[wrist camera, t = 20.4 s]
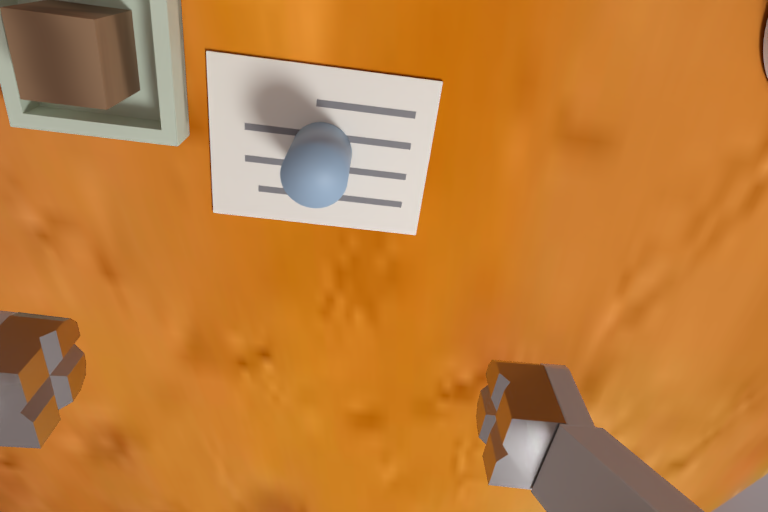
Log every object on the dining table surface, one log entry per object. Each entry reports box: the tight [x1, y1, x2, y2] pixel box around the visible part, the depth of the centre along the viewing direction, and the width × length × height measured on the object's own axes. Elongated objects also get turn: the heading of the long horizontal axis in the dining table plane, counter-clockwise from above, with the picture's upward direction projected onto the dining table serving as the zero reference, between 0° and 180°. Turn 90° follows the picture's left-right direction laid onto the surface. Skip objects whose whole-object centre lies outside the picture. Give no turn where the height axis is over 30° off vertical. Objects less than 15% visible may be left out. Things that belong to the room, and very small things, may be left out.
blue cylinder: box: [280, 122, 352, 208], centre depth 36 cm, size 4×4×5 cm
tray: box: [0, 0, 190, 146], centre depth 34 cm, size 11×11×2 cm
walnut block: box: [0, 0, 140, 110], centre depth 32 cm, size 5×5×5 cm
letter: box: [206, 51, 443, 235], centre depth 38 cm, size 16×12×1 cm
